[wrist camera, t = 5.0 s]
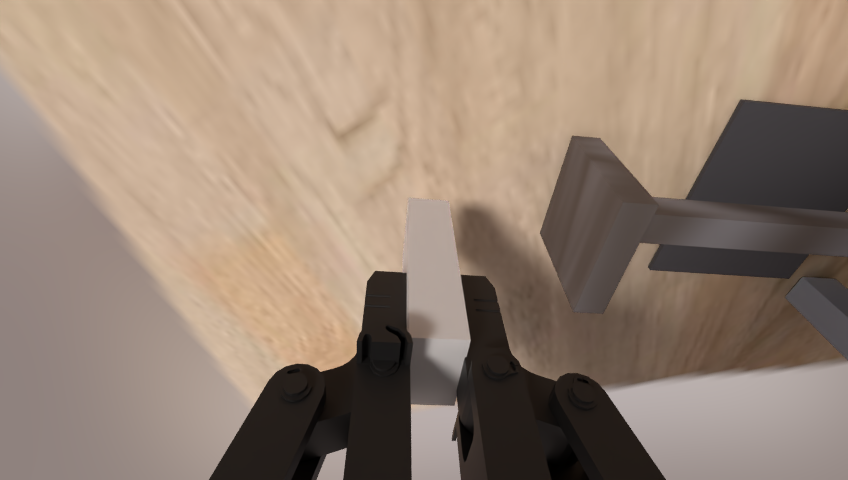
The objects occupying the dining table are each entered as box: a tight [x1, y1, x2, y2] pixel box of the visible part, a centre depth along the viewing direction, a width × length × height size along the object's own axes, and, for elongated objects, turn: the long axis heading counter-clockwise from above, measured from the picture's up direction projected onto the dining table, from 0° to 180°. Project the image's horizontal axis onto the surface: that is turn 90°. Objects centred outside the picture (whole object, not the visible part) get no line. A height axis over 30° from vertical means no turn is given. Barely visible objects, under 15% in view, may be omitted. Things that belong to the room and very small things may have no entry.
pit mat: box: [648, 100, 848, 279], centre depth 20 cm, size 8×9×1 cm
